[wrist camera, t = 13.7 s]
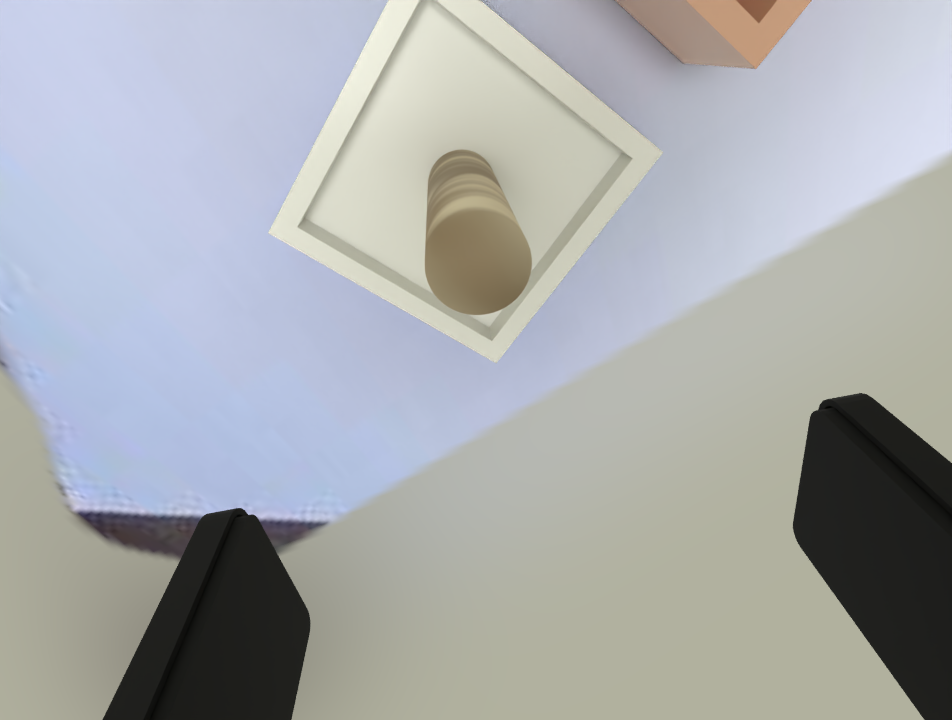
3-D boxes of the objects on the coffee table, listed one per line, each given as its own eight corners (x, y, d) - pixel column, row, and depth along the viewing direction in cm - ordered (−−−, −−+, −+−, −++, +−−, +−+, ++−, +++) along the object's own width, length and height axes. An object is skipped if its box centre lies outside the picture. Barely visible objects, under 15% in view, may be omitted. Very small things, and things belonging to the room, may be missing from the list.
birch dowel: (452, 134, 31) (464, 189, 19) (508, 175, 33) (553, 251, 20) (415, 194, 33) (404, 280, 21) (470, 231, 34) (490, 332, 22)
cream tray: (417, -45, 28) (415, -53, 25) (647, 145, 33) (663, 152, 31) (279, 220, 34) (268, 233, 31) (492, 344, 39) (496, 363, 37)
